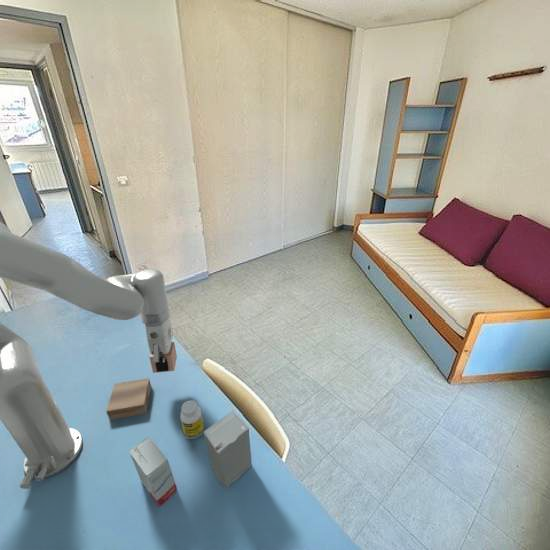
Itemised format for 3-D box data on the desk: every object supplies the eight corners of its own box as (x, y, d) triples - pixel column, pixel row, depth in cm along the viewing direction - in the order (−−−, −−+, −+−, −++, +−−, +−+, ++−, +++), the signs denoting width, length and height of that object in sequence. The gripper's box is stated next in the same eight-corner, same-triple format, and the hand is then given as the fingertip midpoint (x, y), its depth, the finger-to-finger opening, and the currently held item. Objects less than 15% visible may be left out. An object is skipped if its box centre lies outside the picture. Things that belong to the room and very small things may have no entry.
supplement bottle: (184, 442, 81) (178, 417, 76) (183, 424, 85) (178, 400, 80) (204, 436, 82) (200, 412, 77) (203, 419, 86) (199, 395, 82)
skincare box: (237, 447, 79) (232, 406, 72) (254, 468, 74) (251, 427, 67) (209, 470, 74) (200, 428, 67) (225, 494, 69) (218, 452, 62)
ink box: (178, 490, 70) (169, 459, 65) (158, 508, 67) (147, 478, 62) (159, 465, 75) (149, 435, 70) (140, 480, 72) (128, 450, 67)
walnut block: (146, 413, 89) (143, 404, 87) (109, 420, 87) (106, 411, 85) (151, 387, 97) (148, 378, 95) (118, 392, 95) (114, 383, 94)
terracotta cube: (174, 370, 90) (171, 355, 87) (152, 372, 89) (149, 357, 86) (176, 356, 95) (174, 341, 93) (156, 358, 94) (153, 343, 92)
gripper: (163, 331, 77) (173, 383, 85) (173, 296, 92) (181, 343, 100) (132, 333, 76) (145, 386, 84) (147, 297, 91) (157, 345, 99)
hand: (164, 362), depth 92 cm, fingers closed on terracotta cube, 6 cm apart
